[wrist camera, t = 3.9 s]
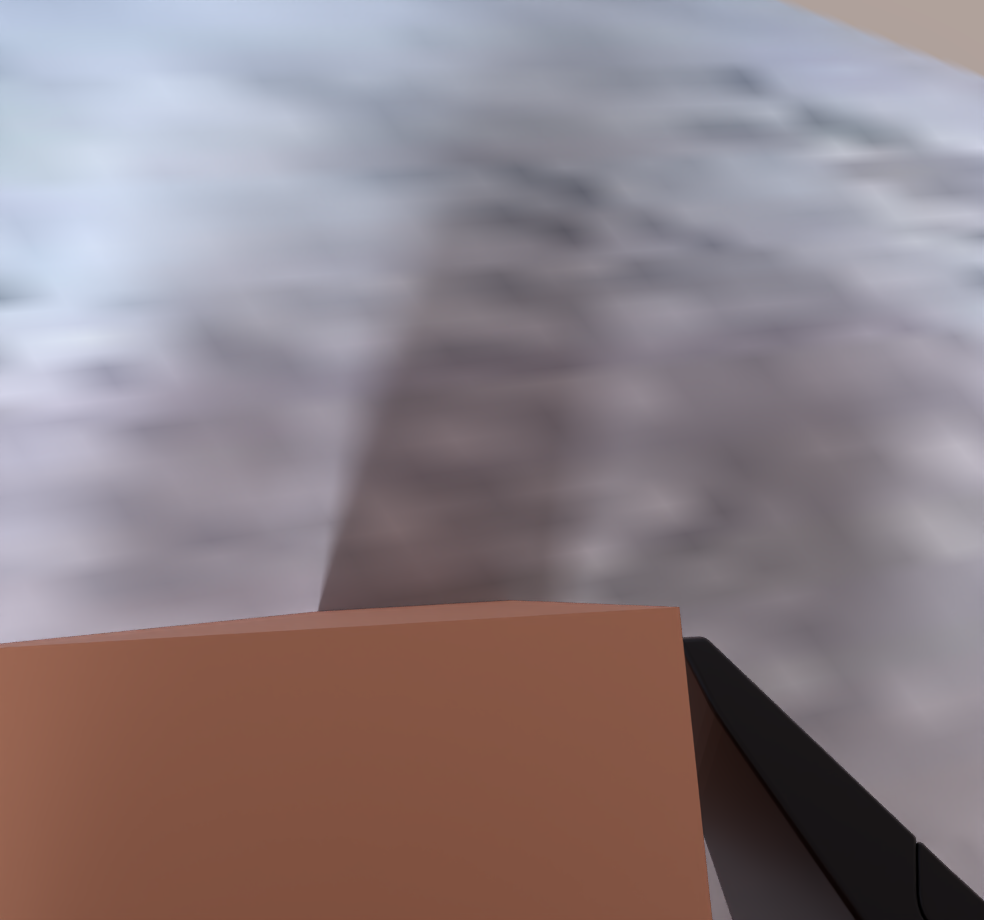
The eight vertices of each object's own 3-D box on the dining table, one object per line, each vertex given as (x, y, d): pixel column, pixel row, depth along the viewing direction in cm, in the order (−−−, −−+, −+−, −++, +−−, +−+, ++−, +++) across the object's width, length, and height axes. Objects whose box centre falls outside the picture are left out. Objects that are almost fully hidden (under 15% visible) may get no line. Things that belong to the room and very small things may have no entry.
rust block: (523, 804, 16) (778, 1545, 3) (319, 820, 15) (-203, 1699, 3) (510, 600, 17) (680, 607, 4) (317, 611, 16) (-99, 653, 4)
